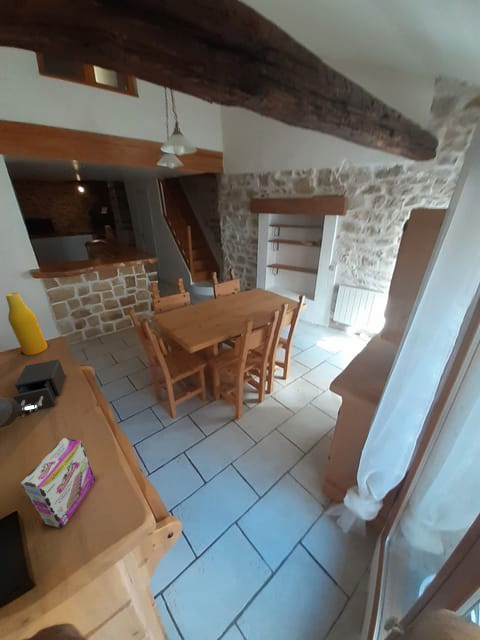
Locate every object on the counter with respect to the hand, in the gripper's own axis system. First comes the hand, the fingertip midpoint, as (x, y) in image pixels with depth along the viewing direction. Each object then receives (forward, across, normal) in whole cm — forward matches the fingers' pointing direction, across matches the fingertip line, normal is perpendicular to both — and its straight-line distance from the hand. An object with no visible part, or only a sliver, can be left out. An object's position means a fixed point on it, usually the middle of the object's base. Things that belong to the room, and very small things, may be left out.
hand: (26, 412), depth 78 cm
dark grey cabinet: (+17, 0, -8) cm, 19 cm away
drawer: (+11, 0, -3) cm, 11 cm away
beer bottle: (+41, +11, -31) cm, 52 cm away
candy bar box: (-17, -15, +26) cm, 35 cm away
